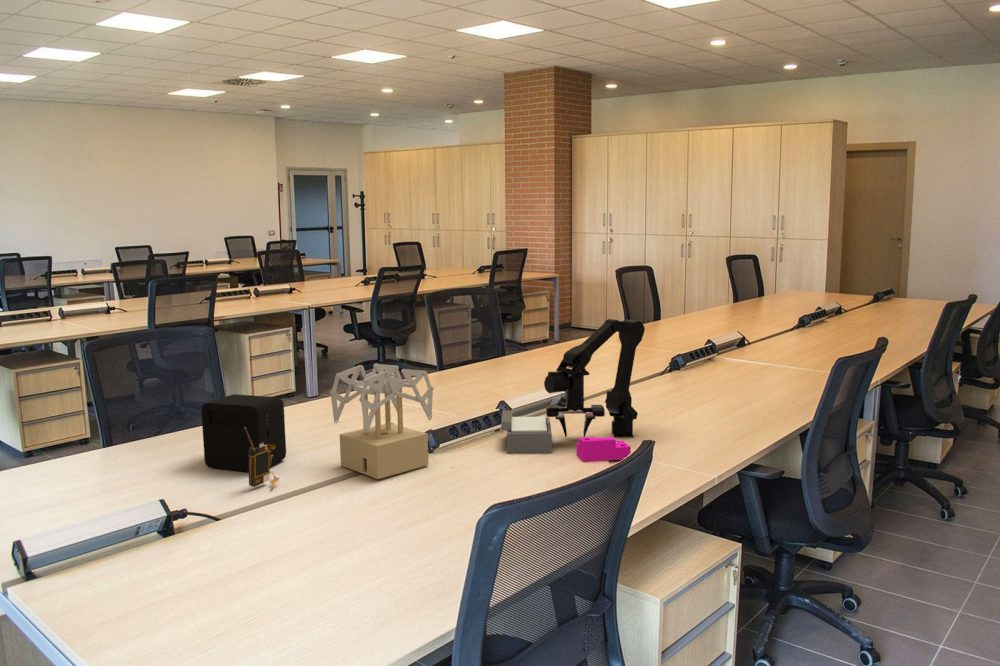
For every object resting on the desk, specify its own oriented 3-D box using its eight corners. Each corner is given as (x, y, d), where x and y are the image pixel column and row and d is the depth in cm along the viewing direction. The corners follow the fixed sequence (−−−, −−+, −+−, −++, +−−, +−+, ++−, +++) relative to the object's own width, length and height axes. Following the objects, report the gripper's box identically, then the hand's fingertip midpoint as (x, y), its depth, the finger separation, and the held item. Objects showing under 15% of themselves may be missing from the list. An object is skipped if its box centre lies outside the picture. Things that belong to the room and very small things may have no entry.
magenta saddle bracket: (582, 441, 232) (576, 435, 239) (582, 461, 232) (576, 454, 240) (630, 438, 234) (623, 432, 241) (630, 458, 235) (622, 452, 242)
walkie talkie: (255, 494, 207) (251, 429, 205) (225, 486, 215) (221, 422, 212) (294, 481, 218) (290, 419, 216) (264, 473, 225) (260, 413, 223)
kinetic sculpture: (368, 481, 216) (365, 376, 213) (330, 466, 231) (325, 368, 227) (436, 462, 233) (434, 365, 230) (396, 450, 248) (393, 357, 244)
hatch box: (549, 435, 263) (549, 417, 262) (551, 453, 242) (551, 433, 241) (508, 435, 263) (508, 417, 262) (507, 453, 242) (506, 433, 241)
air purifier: (290, 459, 239) (287, 396, 236) (261, 473, 225) (257, 406, 223) (235, 454, 245) (232, 392, 243) (204, 467, 232) (200, 402, 229)
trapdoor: (545, 418, 260) (545, 409, 260) (547, 432, 242) (546, 422, 242) (502, 418, 261) (502, 409, 261) (501, 432, 243) (501, 422, 243)
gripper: (601, 384, 257) (601, 430, 259) (545, 384, 258) (545, 430, 260) (604, 391, 246) (604, 438, 248) (546, 391, 247) (546, 439, 249)
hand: (575, 436), depth 252 cm, fingers open, 6 cm apart
